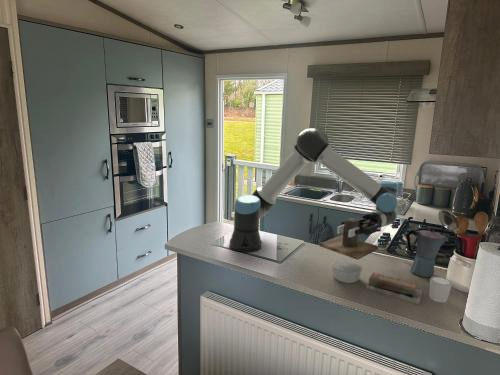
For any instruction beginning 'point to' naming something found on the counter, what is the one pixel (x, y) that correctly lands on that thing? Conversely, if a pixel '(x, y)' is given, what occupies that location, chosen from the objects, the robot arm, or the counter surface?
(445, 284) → the white cup
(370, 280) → the packaged product
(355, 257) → the board with upright post
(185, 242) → the counter surface
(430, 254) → the moka pot
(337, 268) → the ramekin
